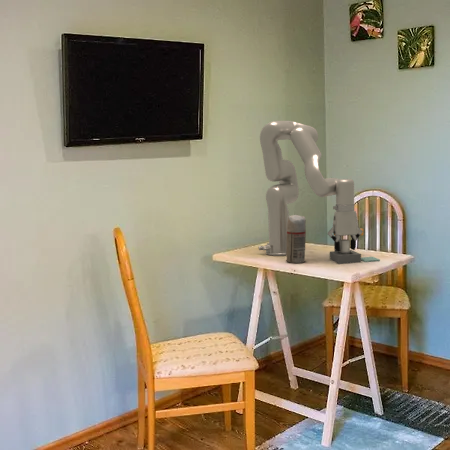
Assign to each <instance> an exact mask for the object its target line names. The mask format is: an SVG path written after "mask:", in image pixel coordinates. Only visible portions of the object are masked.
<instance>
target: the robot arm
mask: <svg viewBox="0 0 450 450" xmlns="http://www.w3.org/2000/svg"><path fill="white" fill-rule="evenodd" d="M318 139H319V133H318V131H317V129H316V128H315V127H313V126H311V125H309V124H307V125H306V124H303V123H299V122H297V121H293V120H271V121H270V122H267V123H266V124H264V126H263V127H262V128H261V130H260V134H259V141H260V147H261V151H262V158H263V167H264V171H265V172H264V173H265V176H266V179H267V180H268V181H270V182H279V183H278V184H273V185H272V186H270V187H269V188H268V189H267V191H266V193H265V199H266V200H265V201H266V204H267V214H268V243H266V244H265V245H259V246H258V250H259V251H265V254H266V255H269V256H275V257H279V256H280V257H281V256H283V257H284V256H287V255H286V248H287V246H286V245H287V244H286V243H287V223H288V217H289V216H290V211H289V208H288V205H289V204H293V203H295V202H296V201H297V200H298V198H299V195H300V193H299V192H300V191H299V189H300V188H299V184H298V177H297V172H296V171H297V170H296V167H295V165H294V163H292V161H290V160H288V159H283V154H282V149H281V146H280V144H279V143H278V141H284V140H290V141H291V143H292V145H293V146H294V148H295V150H296V152H297V153H298V155H299V157H300V158H301V161H302V162H303V164H304V174H305V175H304V176H305V179H306V181H307V183H308V185H309V186H310V189H311V190H312V191H313V193H314V194H315V195H316V196H318V197H321V198H323V197H324V198H326V197H330V196H335V205H334V206H332V210H335V211H334V215H333V218H332V227H331V228H330V229H329V231H327V233H326V234H327V235H328V236H329V238H330V239H332V240H333V241H334V242H333V243H334V244H333V247H335V250H336V251H340V242H339V238H340V236H341V237H344V236H350V237H351V240H350V250H352V251H355V250H356V248H357V247H356V246H357V240H358V238H360V237H361V236H362V235H361V234H362V232H363V233H364V230H363V231H362V230H361V229H360V227H359V221H358V215H357V210H356V211H355V181H354V180H353V179H351V178H337V177H327V178H324V176H323V174H322V172H321V170H320V166H319V163H320V160H321V159H322V157H323V154H322V152H321V151H320V148H319V147H318V145H317V142H318ZM334 234H335V235H334Z"/></svg>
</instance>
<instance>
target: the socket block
mask: <svg viewBox="0 0 450 450" xmlns="http://www.w3.org/2000/svg"><path fill="white" fill-rule="evenodd" d="M350 250H351V253H350V254H340V253H339V251H334V250H332V251H329V260H330V261H332V262H334V263H336V264H338V265H344V264H353V263H354V264H355V263H362V261H361V257H362V254H361V253H359V252H357V251H355V250H352V249H350Z"/></svg>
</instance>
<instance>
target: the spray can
mask: <svg viewBox="0 0 450 450" xmlns="http://www.w3.org/2000/svg"><path fill="white" fill-rule="evenodd" d="M306 227H307V226H306V217H305V216H304V215H299V214H292V215H289V217H288V223H287V243H286V244H287V245H286V246H287V248H286V255H285V256H286V260H285V261H286V262H287V263H289V264H290V263H294V264H300V263H301V264H302V263H305V262H306V261H305V259H306V241H307V239H306V236H307V235H306V234H307V231H306Z"/></svg>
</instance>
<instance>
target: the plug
mask: <svg viewBox="0 0 450 450" xmlns="http://www.w3.org/2000/svg"><path fill="white" fill-rule="evenodd" d="M351 250H352V249H351V240H350V239H349V238H348V239H346V238H344V239H342V238H341V240H340V251H339V253H340V254H350V253H351Z"/></svg>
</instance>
